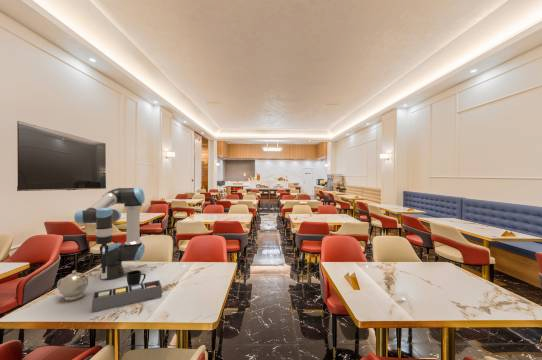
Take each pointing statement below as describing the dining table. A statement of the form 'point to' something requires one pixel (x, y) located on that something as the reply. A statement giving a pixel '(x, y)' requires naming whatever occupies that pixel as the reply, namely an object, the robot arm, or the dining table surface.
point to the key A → (103, 294)
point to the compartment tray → (126, 296)
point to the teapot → (73, 286)
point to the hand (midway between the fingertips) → (103, 278)
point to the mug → (134, 277)
